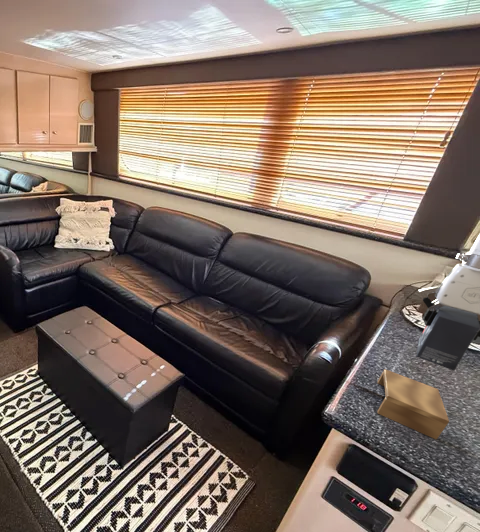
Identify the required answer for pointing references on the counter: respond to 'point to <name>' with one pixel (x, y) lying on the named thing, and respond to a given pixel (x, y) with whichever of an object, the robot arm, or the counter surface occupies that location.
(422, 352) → the small box
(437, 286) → the robot arm
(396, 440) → the counter surface
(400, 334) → the counter surface
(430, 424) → the tan bracket
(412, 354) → the counter surface
